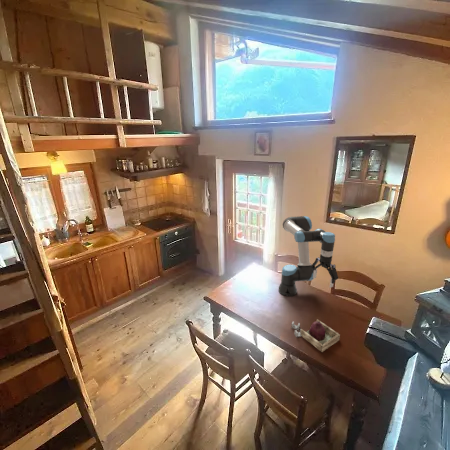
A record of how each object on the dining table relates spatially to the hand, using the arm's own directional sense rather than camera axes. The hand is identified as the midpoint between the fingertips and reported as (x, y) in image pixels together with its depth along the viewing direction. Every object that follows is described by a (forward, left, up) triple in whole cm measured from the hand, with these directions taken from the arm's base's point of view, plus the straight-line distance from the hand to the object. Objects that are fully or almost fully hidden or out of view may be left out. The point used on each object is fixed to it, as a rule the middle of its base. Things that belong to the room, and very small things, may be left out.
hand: (322, 282), depth 174 cm
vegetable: (+12, -17, -29) cm, 35 cm away
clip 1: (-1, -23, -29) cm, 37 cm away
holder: (+14, -17, -29) cm, 36 cm away
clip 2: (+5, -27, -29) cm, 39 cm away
